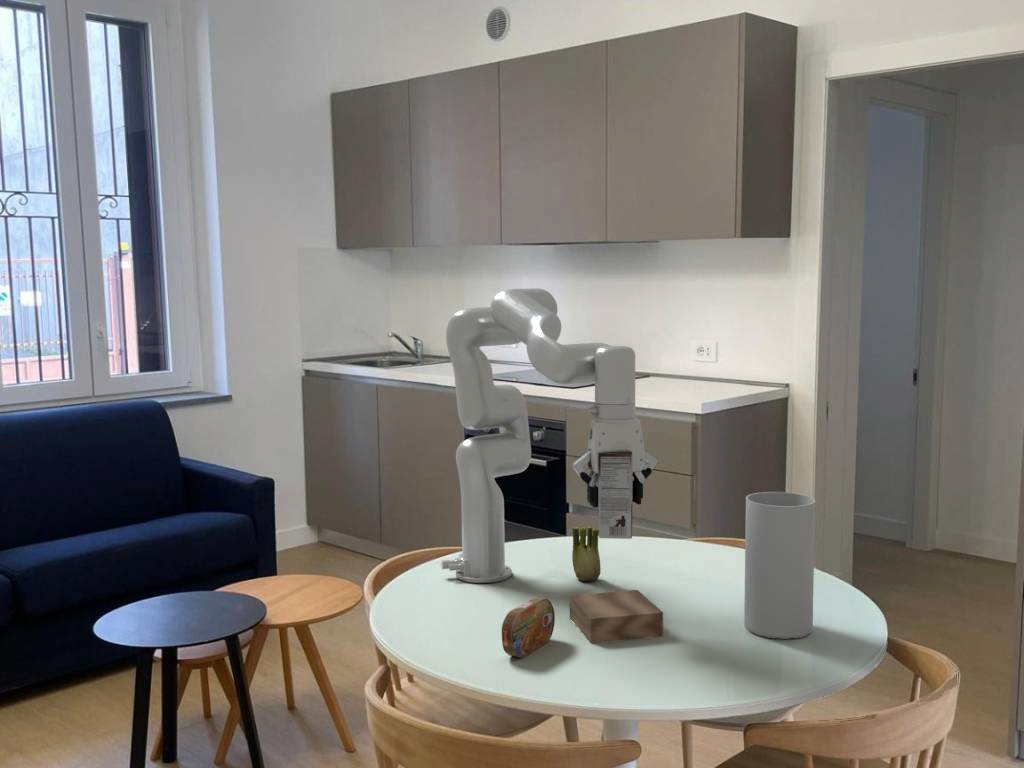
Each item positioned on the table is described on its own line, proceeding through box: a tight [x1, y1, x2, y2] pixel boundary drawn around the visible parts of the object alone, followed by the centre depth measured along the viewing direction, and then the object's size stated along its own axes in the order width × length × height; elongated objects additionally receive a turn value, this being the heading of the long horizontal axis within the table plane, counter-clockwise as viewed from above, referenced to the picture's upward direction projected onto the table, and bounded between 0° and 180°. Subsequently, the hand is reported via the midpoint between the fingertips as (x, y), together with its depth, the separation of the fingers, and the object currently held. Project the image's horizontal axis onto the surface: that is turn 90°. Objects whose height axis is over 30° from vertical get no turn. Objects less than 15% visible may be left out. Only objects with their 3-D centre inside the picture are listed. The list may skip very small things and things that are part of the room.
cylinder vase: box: [743, 491, 816, 640], centre depth 191 cm, size 12×12×25 cm
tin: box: [501, 597, 556, 659], centre depth 183 cm, size 15×3×8 cm, turn 148°
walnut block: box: [569, 589, 664, 644], centre depth 194 cm, size 14×14×5 cm
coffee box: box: [597, 451, 634, 540], centre depth 191 cm, size 9×6×16 cm
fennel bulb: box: [571, 526, 602, 583], centre depth 224 cm, size 6×5×12 cm
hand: (615, 504), depth 192 cm, fingers closed on coffee box, 8 cm apart
